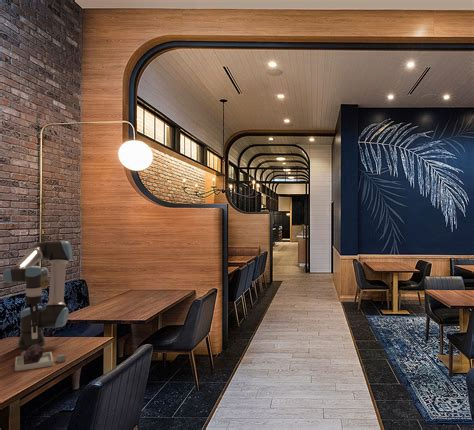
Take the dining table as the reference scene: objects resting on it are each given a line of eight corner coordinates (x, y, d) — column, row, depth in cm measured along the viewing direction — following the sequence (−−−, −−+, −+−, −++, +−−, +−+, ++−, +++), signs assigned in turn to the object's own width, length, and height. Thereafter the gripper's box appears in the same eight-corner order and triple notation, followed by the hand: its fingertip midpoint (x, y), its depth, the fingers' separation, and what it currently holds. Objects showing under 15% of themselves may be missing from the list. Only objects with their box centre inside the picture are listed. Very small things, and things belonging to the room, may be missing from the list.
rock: (20, 369, 213) (41, 367, 215) (19, 353, 212) (40, 351, 214) (27, 358, 224) (47, 356, 226) (26, 343, 223) (46, 341, 225)
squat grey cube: (56, 361, 224) (56, 355, 224) (62, 359, 226) (62, 353, 226) (59, 362, 221) (59, 357, 221) (65, 361, 223) (65, 355, 223)
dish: (15, 361, 224) (15, 356, 224) (51, 356, 232) (51, 351, 232) (15, 371, 208) (14, 366, 208) (53, 365, 216) (53, 360, 216)
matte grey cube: (24, 356, 233) (24, 350, 234) (30, 356, 233) (30, 350, 234) (20, 358, 229) (20, 352, 230) (27, 358, 229) (27, 352, 230)
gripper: (25, 292, 230) (26, 330, 230) (25, 300, 208) (26, 342, 208) (40, 291, 233) (41, 328, 234) (42, 298, 211) (43, 340, 211)
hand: (34, 335), depth 221 cm, fingers open, 13 cm apart
